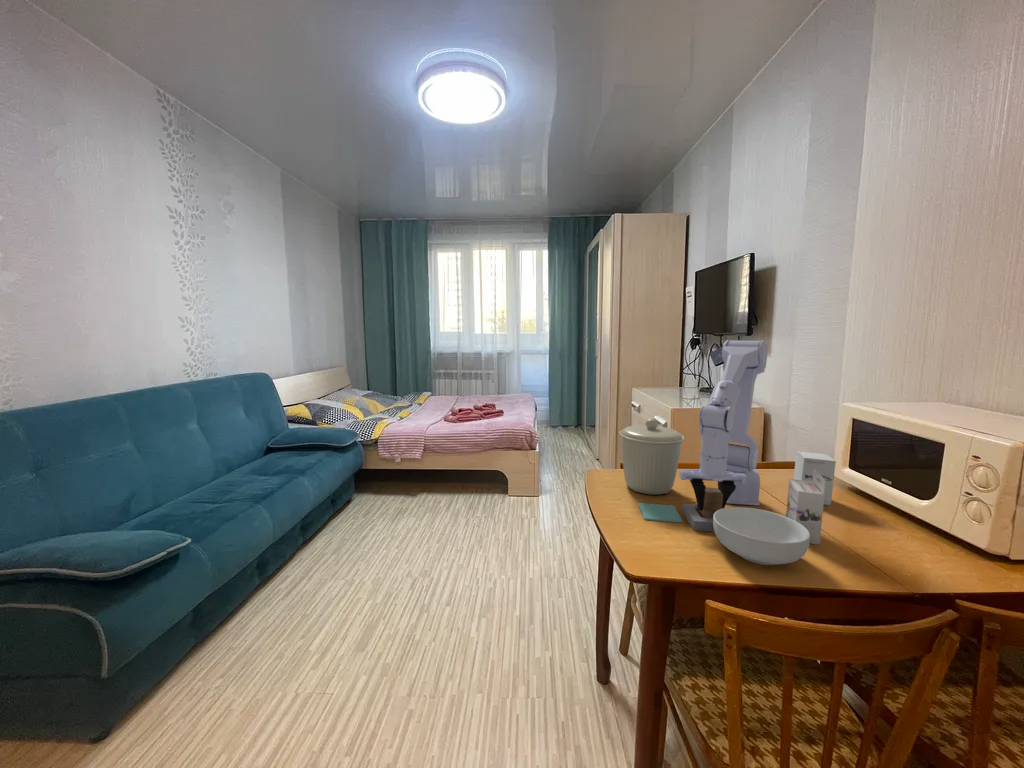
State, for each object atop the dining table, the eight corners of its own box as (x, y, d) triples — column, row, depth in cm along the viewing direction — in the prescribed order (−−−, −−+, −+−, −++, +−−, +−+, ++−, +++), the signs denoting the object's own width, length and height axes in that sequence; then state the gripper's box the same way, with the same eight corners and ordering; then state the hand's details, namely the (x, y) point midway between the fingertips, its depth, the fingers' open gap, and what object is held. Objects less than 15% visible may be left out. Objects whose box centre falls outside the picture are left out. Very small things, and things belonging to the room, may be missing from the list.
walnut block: (715, 518, 100) (717, 488, 99) (720, 526, 96) (723, 494, 95) (697, 517, 100) (700, 486, 99) (702, 525, 96) (705, 493, 95)
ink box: (783, 524, 97) (789, 465, 95) (808, 528, 95) (814, 468, 93) (793, 541, 89) (799, 477, 87) (820, 545, 87) (827, 480, 85)
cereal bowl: (788, 541, 89) (791, 511, 88) (822, 585, 73) (826, 549, 72) (705, 530, 94) (707, 501, 93) (719, 569, 78) (722, 535, 77)
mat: (673, 507, 106) (673, 505, 106) (682, 522, 97) (682, 521, 97) (638, 504, 108) (638, 503, 108) (644, 519, 99) (644, 518, 99)
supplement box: (798, 501, 110) (803, 457, 109) (791, 492, 117) (795, 450, 116) (831, 506, 108) (836, 460, 106) (822, 496, 114) (826, 453, 113)
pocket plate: (723, 514, 102) (724, 506, 102) (739, 533, 92) (740, 524, 92) (682, 511, 104) (682, 503, 103) (693, 529, 94) (693, 520, 94)
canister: (672, 479, 127) (676, 414, 124) (689, 502, 109) (694, 427, 107) (614, 476, 129) (616, 412, 127) (620, 498, 112) (623, 424, 109)
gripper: (686, 458, 93) (682, 514, 95) (753, 461, 91) (749, 519, 92) (678, 449, 100) (675, 502, 102) (741, 453, 98) (737, 506, 99)
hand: (709, 509), depth 98 cm, fingers closed on walnut block, 4 cm apart
